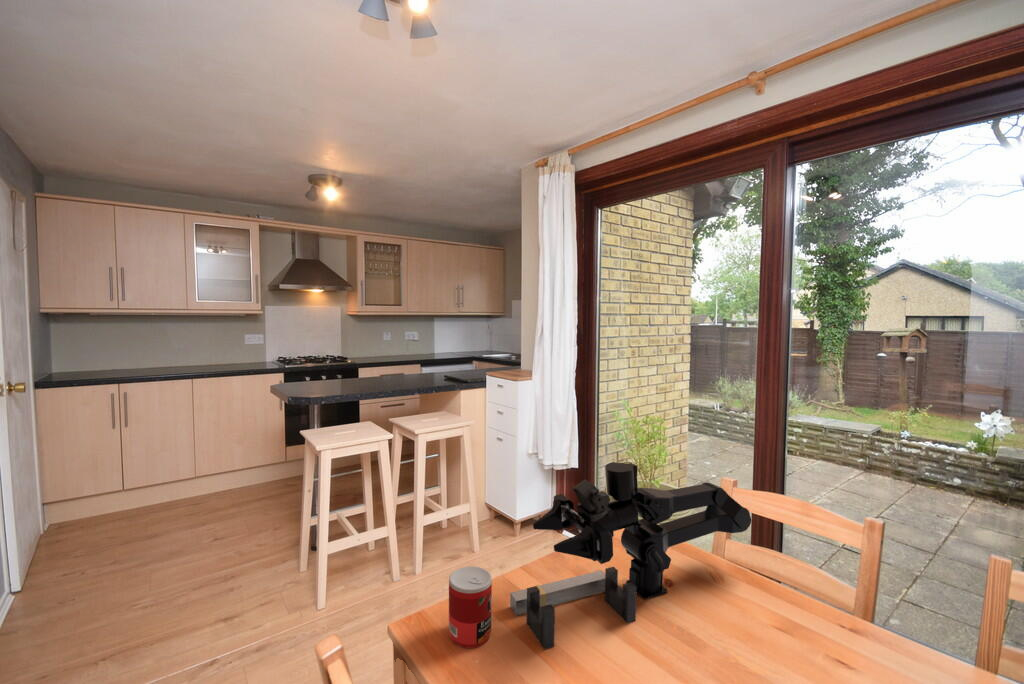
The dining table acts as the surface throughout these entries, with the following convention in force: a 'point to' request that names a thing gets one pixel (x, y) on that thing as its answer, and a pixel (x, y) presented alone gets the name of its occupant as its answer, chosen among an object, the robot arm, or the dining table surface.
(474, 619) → the canned food
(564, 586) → the grey metal bar
